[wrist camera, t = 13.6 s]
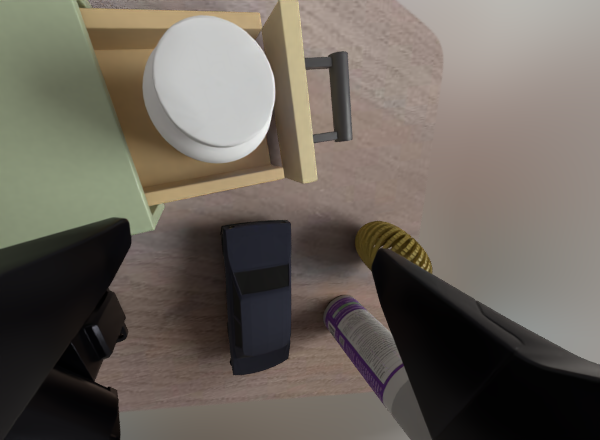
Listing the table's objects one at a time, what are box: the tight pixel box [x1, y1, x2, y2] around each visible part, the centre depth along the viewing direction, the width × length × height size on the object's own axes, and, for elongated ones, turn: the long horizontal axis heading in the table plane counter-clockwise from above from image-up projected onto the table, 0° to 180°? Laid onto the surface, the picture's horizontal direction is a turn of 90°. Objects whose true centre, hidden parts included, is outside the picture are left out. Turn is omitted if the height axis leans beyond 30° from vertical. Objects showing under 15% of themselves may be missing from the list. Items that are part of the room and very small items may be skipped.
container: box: [323, 295, 432, 440], centre depth 23 cm, size 5×5×15 cm
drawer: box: [79, 0, 352, 206], centre depth 17 cm, size 18×11×4 cm, turn 98°
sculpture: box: [355, 221, 432, 274], centre depth 24 cm, size 8×4×8 cm, turn 38°
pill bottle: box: [142, 15, 275, 163], centre depth 13 cm, size 6×5×10 cm
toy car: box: [220, 220, 291, 375], centre depth 22 cm, size 6×15×5 cm, turn 178°
